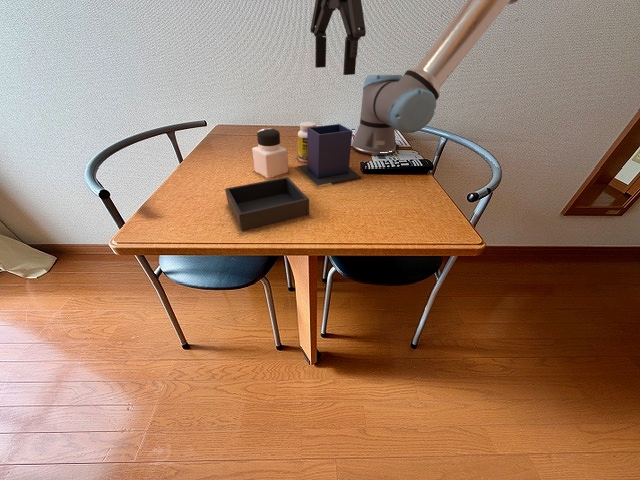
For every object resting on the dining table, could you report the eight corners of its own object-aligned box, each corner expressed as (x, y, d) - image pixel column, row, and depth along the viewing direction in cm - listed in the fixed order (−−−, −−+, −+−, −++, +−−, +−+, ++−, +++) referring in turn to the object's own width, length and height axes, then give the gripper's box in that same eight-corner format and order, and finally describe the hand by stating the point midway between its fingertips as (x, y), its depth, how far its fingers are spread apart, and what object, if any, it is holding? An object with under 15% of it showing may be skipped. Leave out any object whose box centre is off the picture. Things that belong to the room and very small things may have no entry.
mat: (336, 161, 92) (336, 159, 92) (361, 178, 82) (361, 176, 82) (296, 168, 87) (296, 166, 86) (317, 187, 77) (317, 185, 77)
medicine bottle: (288, 173, 83) (286, 131, 76) (267, 180, 80) (263, 136, 72) (274, 165, 88) (271, 125, 80) (254, 171, 84) (249, 129, 77)
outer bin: (288, 193, 74) (287, 176, 71) (309, 216, 65) (309, 199, 62) (228, 205, 68) (224, 188, 65) (242, 233, 59) (238, 215, 57)
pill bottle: (301, 164, 89) (301, 127, 83) (295, 156, 94) (294, 121, 87) (320, 161, 91) (321, 125, 84) (313, 154, 96) (313, 120, 89)
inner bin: (336, 164, 88) (339, 123, 81) (348, 172, 83) (352, 130, 76) (307, 169, 85) (307, 127, 77) (318, 179, 80) (319, 135, 72)
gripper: (295, -44, 65) (298, 65, 78) (358, -66, 47) (349, 79, 60) (324, -41, 68) (322, 64, 81) (393, -61, 50) (377, 77, 63)
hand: (333, 70), depth 71 cm, fingers open, 13 cm apart
